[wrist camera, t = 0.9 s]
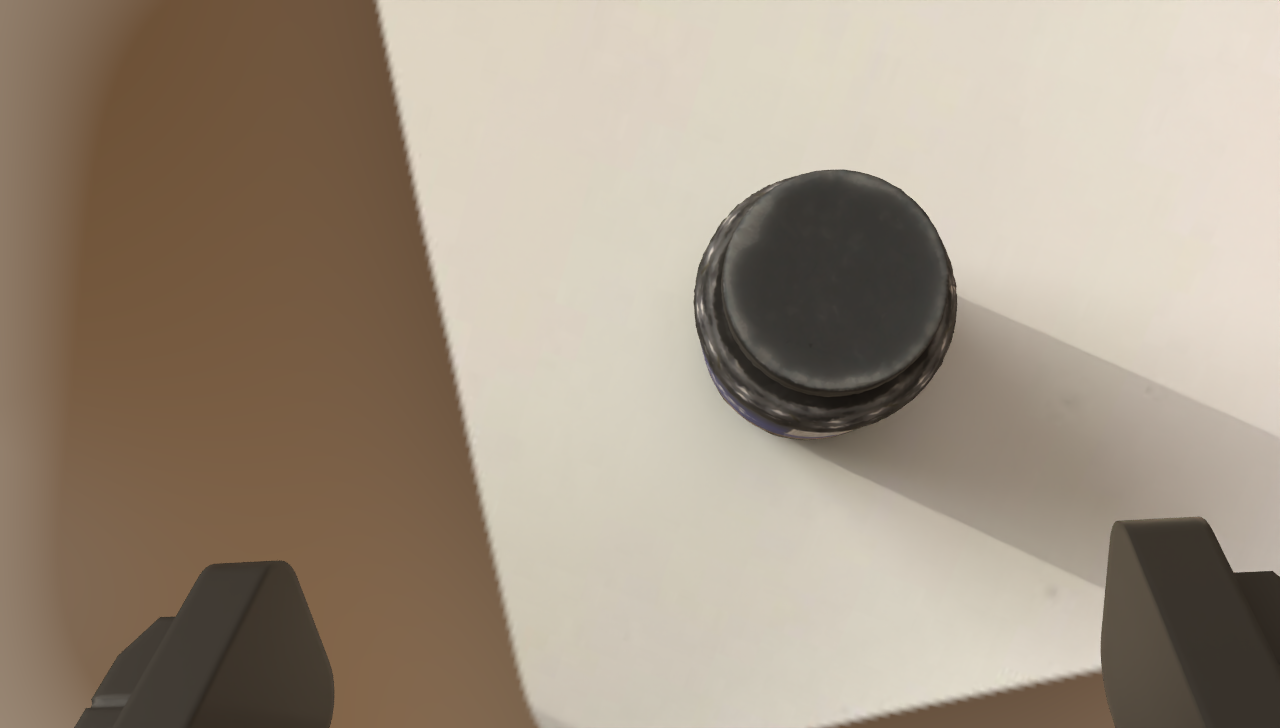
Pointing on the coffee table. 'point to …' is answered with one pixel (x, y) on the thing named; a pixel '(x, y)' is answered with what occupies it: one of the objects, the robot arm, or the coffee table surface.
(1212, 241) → the coffee table surface
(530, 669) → the coffee table surface
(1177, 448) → the coffee table surface
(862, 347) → the pill bottle
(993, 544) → the coffee table surface
